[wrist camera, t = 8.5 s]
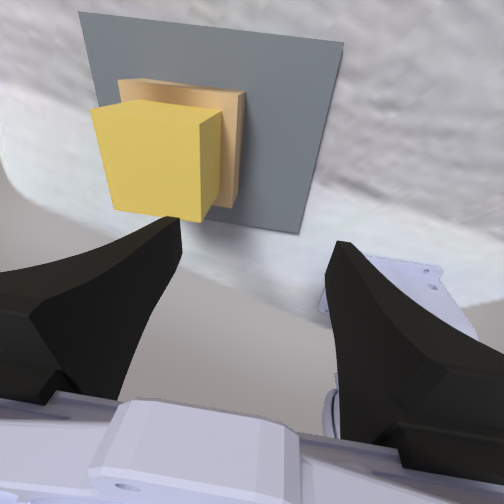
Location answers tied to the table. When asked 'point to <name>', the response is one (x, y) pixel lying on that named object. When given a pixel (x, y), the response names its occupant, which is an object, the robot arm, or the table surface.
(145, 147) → the yellow block
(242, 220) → the board
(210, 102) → the oak block
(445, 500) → the robot arm
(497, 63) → the table surface
